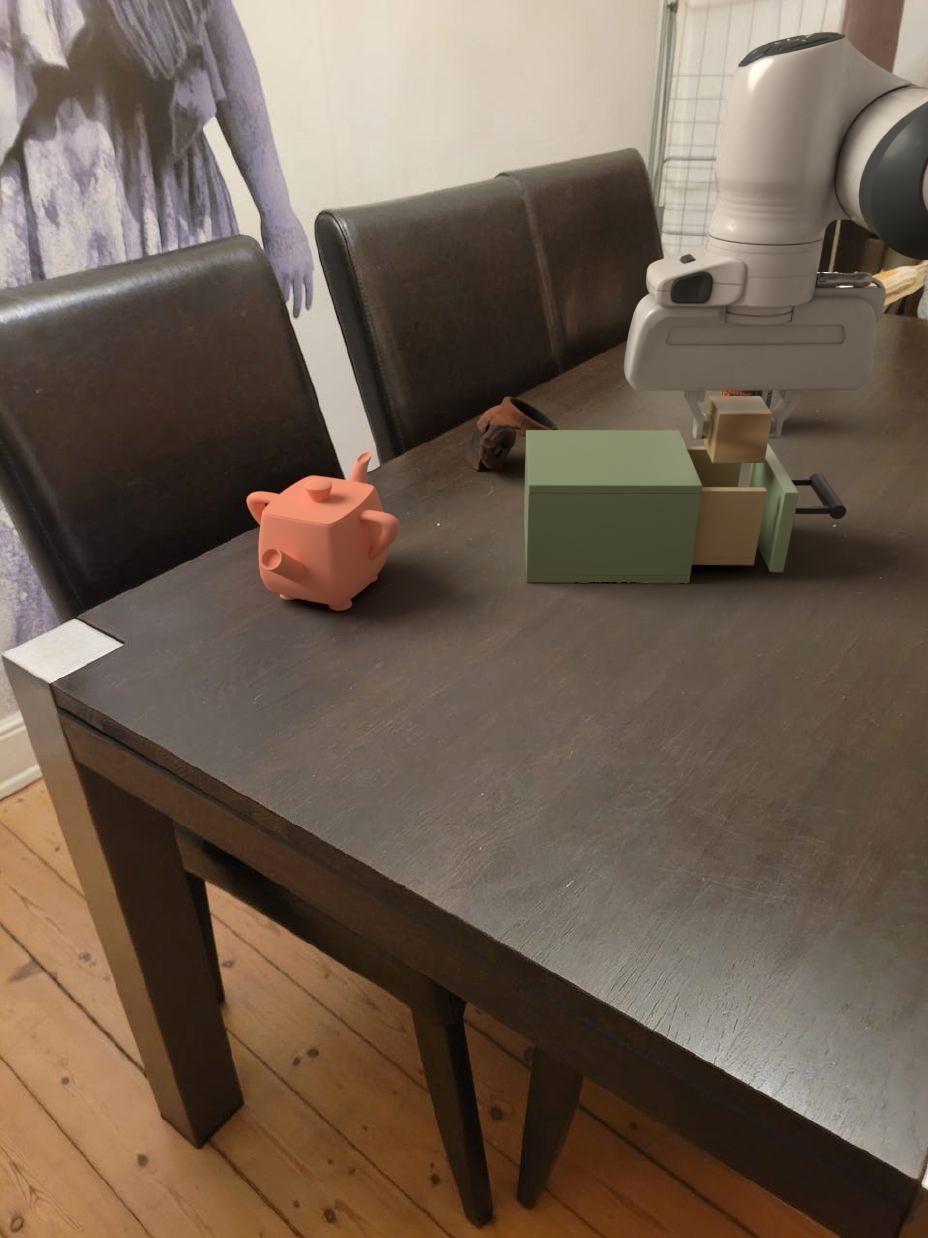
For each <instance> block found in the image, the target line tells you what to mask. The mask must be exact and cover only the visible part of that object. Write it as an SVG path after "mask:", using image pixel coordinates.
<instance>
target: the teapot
mask: <svg viewBox="0 0 928 1238" xmlns="http://www.w3.org/2000/svg"><path fill="white" fill-rule="evenodd" d="M371 460H372V452H371V451H366V452H364V453H362V454H360V456H358V458H357V459H356V461H355V463H354V465H353V468H352V471H351V475H350V479H342V478H335V477H329V476H320V475H308V476H306V477H303V478H301V479H300V480H297V482H295V483H293V484H291V485H290V486H289V487H287V488H286V489H284V490H283V491H282V492H280V493H275V492H269V491H254V492H252V493H250V494H248V495H247V498H246V504H247V508H248V510H249V512H250V514H251V515H252V517H253V519H254V520H255V521H256V522H257V524H258V525H259V526H260V527H259V536H258V567H259V574H260V578H261V580H262V582H263V585H264V586H265V587H266V589H267V591H269V592H271V593H275V594H277V595H279V597H280V598H281V599H283V600H286V601H293V600H297V599H298V600H303V601H308V602H313V603H319V604H322V605H323V604H325V605H328V608H330V609H331V610H333V611H337V612H339V611H340V612H341V611H345V610H348V609H350V608H351V607H352V605H353V601H352V599H353V598H355V597H356V596H357V595H358V594H359V593H361V592H362V591H363V590H364V589H366V588H367V587H368V586H369V585H370V584H372V583H373V582H375V581H377V580H378V575H379V573H380V572H381V570H382V569H383V567H384V566H385V563H386V562H387V560H388V556H389V551H390V546H391V545H392V544H393V543H394V541H395V540H396V538H397V537H398V536H399V532H400V527H401V524H400V521H399V519H398V518H397V517H396V516H395V515H393V514H390V513H387V512H384V509H383V505H382V503H381V502H382V501H381V499H380V496H379V493H378V491H377V488H376V487H375V486H374V485H372V484H370V483H369V484H368V469H369V465H370V461H371Z"/></svg>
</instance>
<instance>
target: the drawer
mask: <svg viewBox="0 0 928 1238" xmlns="http://www.w3.org/2000/svg"><path fill="white" fill-rule="evenodd" d="M685 446H686V445H685ZM686 448H687V450H688V453H689V455H690V458H691V460H692V462H693V465H694V467H695V469H696V472H697V474H698V477H699V479H700V481H701V484H702V493H701V501H700V508H699V516H698V523H697V530H696V538H695V545H694V552H693V560H692V566H754V565H755V560H756V554H757V550H759V552H760V554H761V556H762V559H763V560H764V562H765V565H766V567H767V569H768V570H769V572H770V573H784V571H785V565H786V560H787V555H788V551H789V550H788V549H789V547H790V546H789V545H790V540H791V535H792V531H793V527H794V526H793V525H794V522H795V521H794V520H795V515H829V516H830V518H832V519H833V520H840V519H843V518H844V517H845V516H846V514H847V507H846V506H845V504H844V503H843V502H842V501H841V499H840V497H839V496H838V495H837V493H836V491H834V489H833V488H832V486H831V484H830V483H829V482H828V481H827V479H826V478H825V476H824V475H823V474H822V473H821V472H815V473H813V474H811V475H810V476H809V477H790V476H789V474H788V472H787V471H786V469H785V468H784V466H783V464H782V463H781V461H780V459H779V458H778V456H777V455H776V452H774V450H773V448H772V447H771V445H770V444H769V442H768V444H767V450H766V456H765V462H764V463H750V468H749V475H748V481H747V486H744V487H743V486H741V487H740V486H739V481H740V476H741V469H742V463H712V461H711V459H710V457H709V455H708V452H707V450H706V448H705V446H704V445H699V446H698V445H697V446H696V445H695V446H694V445H689V446H688V445H687V446H686ZM797 486H798V487H799V486H802V487H806V486H807V487H808V486H809V487H810V488H812V490H813V492H814V493H815V495H816V496H817V498H818V499H819V501H820V502H821V504H822V505H798V500H799V495H800V492H799V490H798V488H797Z"/></svg>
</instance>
